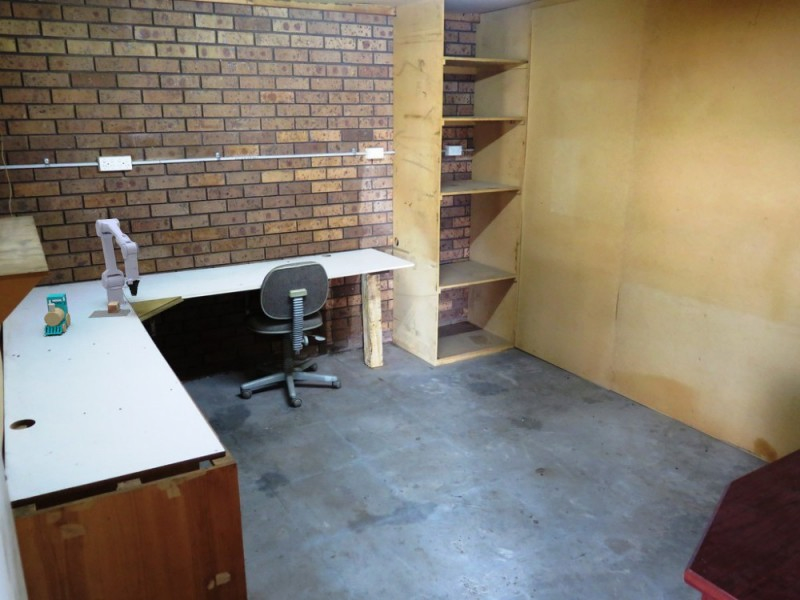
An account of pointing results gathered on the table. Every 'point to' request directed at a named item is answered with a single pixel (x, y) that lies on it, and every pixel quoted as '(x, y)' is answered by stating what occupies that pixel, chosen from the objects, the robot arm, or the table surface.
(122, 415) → the table surface
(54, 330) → the toy train
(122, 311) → the slate mat
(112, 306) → the maple block
